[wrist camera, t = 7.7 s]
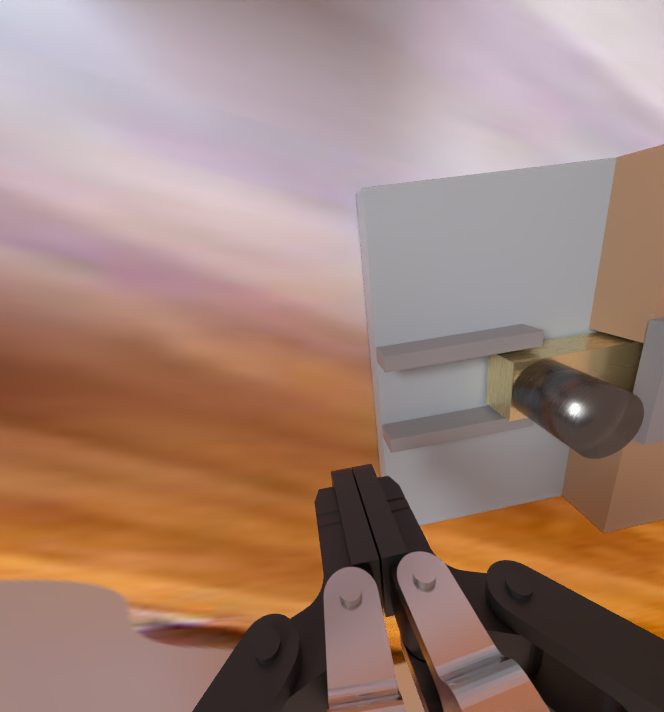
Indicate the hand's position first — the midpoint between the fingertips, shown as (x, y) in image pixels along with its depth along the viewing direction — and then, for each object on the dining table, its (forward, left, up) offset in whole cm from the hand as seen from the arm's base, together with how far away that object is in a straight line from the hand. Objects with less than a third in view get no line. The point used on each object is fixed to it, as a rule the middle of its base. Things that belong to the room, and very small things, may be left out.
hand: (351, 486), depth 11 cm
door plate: (+11, 0, -7) cm, 13 cm away
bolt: (+14, 0, -5) cm, 15 cm away
